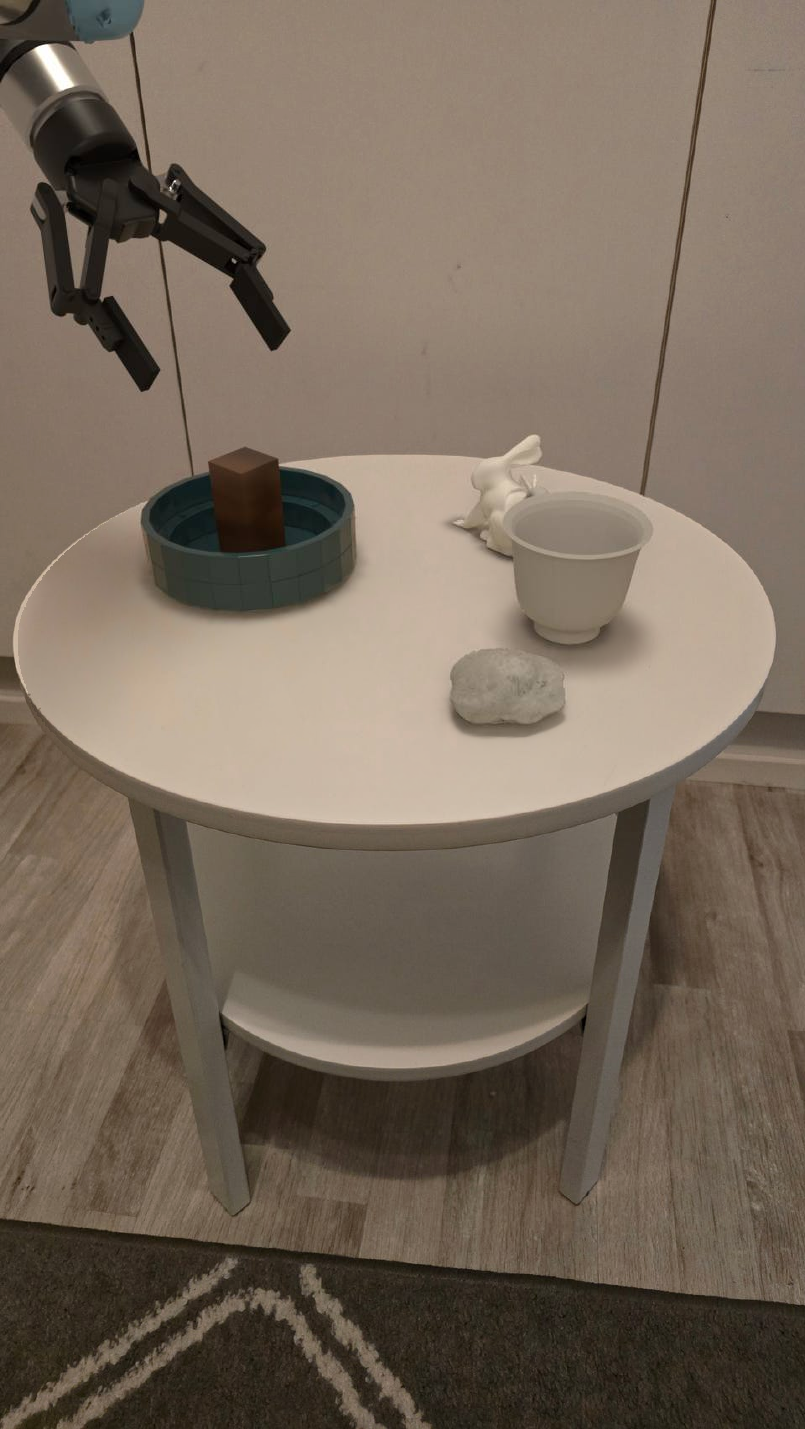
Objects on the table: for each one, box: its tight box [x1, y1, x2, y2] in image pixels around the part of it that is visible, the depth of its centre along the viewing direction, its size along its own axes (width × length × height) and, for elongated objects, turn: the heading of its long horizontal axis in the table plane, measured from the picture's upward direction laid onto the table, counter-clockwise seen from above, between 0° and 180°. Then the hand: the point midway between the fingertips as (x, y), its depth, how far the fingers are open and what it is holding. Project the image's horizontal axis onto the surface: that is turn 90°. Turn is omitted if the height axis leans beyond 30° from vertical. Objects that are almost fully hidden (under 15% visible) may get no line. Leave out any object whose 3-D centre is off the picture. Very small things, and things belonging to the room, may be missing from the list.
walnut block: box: [207, 446, 286, 553], centre depth 92 cm, size 4×4×10 cm
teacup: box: [503, 485, 654, 645], centre depth 83 cm, size 12×15×10 cm
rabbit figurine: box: [452, 434, 543, 557], centre depth 96 cm, size 12×8×10 cm, turn 28°
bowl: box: [139, 465, 358, 613], centre depth 93 cm, size 20×20×6 cm
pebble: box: [449, 647, 567, 725], centre depth 74 cm, size 9×8×5 cm
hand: (219, 360), depth 79 cm, fingers open, 13 cm apart
